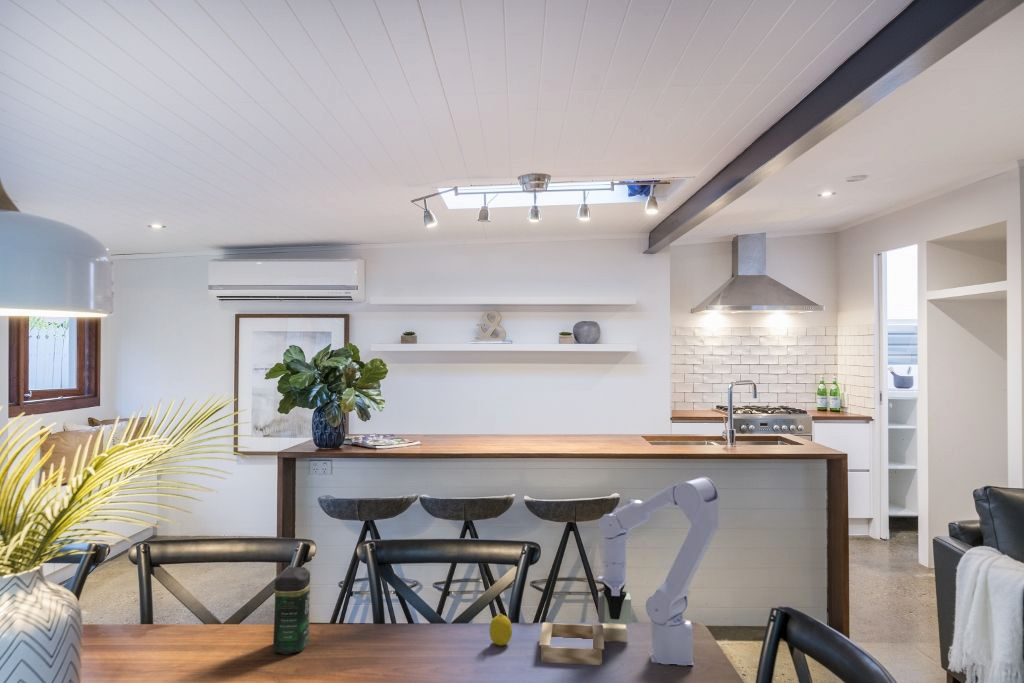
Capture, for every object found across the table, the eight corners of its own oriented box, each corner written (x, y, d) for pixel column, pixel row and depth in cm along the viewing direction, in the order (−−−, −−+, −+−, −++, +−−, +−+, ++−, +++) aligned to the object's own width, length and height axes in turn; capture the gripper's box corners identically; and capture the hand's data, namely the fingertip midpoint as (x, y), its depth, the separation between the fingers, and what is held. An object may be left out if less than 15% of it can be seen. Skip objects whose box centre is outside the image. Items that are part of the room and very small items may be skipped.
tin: (629, 616, 168) (629, 593, 168) (630, 623, 164) (630, 599, 164) (598, 615, 169) (598, 591, 169) (598, 622, 165) (598, 598, 165)
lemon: (502, 654, 158) (502, 620, 158) (484, 647, 161) (485, 614, 161) (516, 646, 162) (516, 613, 162) (498, 640, 165) (499, 608, 166)
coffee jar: (303, 655, 157) (304, 576, 157) (269, 655, 156) (270, 577, 157) (313, 637, 166) (313, 563, 167) (281, 638, 166) (281, 564, 166)
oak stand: (625, 634, 169) (625, 624, 169) (627, 644, 163) (627, 634, 163) (602, 633, 170) (602, 623, 170) (602, 643, 164) (602, 633, 164)
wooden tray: (602, 641, 165) (602, 624, 165) (604, 667, 151) (604, 649, 151) (543, 638, 166) (543, 621, 166) (538, 664, 152) (538, 645, 152)
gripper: (598, 551, 174) (598, 603, 174) (599, 569, 160) (599, 625, 160) (625, 552, 174) (625, 604, 173) (628, 570, 159) (628, 626, 159)
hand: (614, 614), depth 166 cm, fingers closed on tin, 4 cm apart
